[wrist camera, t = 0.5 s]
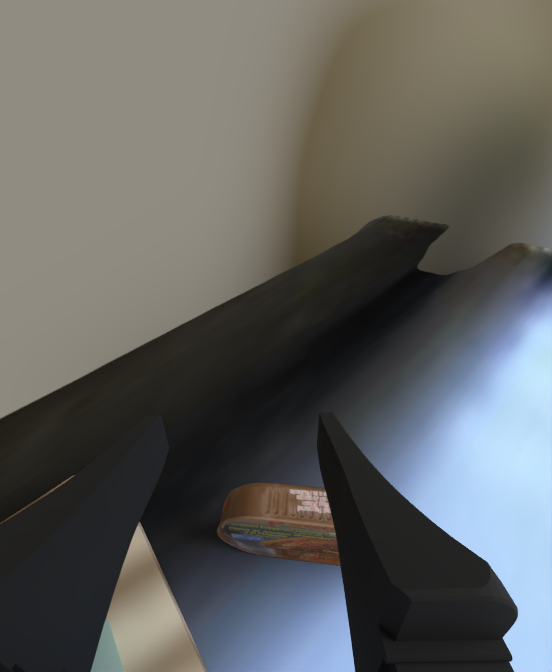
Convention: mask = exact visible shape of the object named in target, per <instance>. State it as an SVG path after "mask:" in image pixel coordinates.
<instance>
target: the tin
mask: <svg viewBox="0 0 552 672" xmlns="http://www.w3.org/2000/svg"><path fill="white" fill-rule="evenodd" d="M217 534H218V536H219V537H220V538H221V539H222V540H223V541H224V542H226V543H228V544H230V545H231V546H234V547H236V548H238V549H240V550H243V551H246V552H249V553H253V554H257V555H263V556H269V557H276V558H283V559H292V560H300V561H308V562H316V563H324V564H331V565H339V566H341V565H340V558H339V552H338V546H337V540H336V533H335V529H334V524H333V519H332V515H331V511H330V507H329V503H328V499H327V495H326V491H325V488H321V487H311V486H300V485H287V484H277V483H252V484H246V485H242V486H239V487H237V488H235V489H234V490H232V491H231V492H230V493H229V494H228V496H227V498H226V500H225V504H224V508H223V512H222V516H221V521H220V524H219V526H218V528H217Z"/></svg>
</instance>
